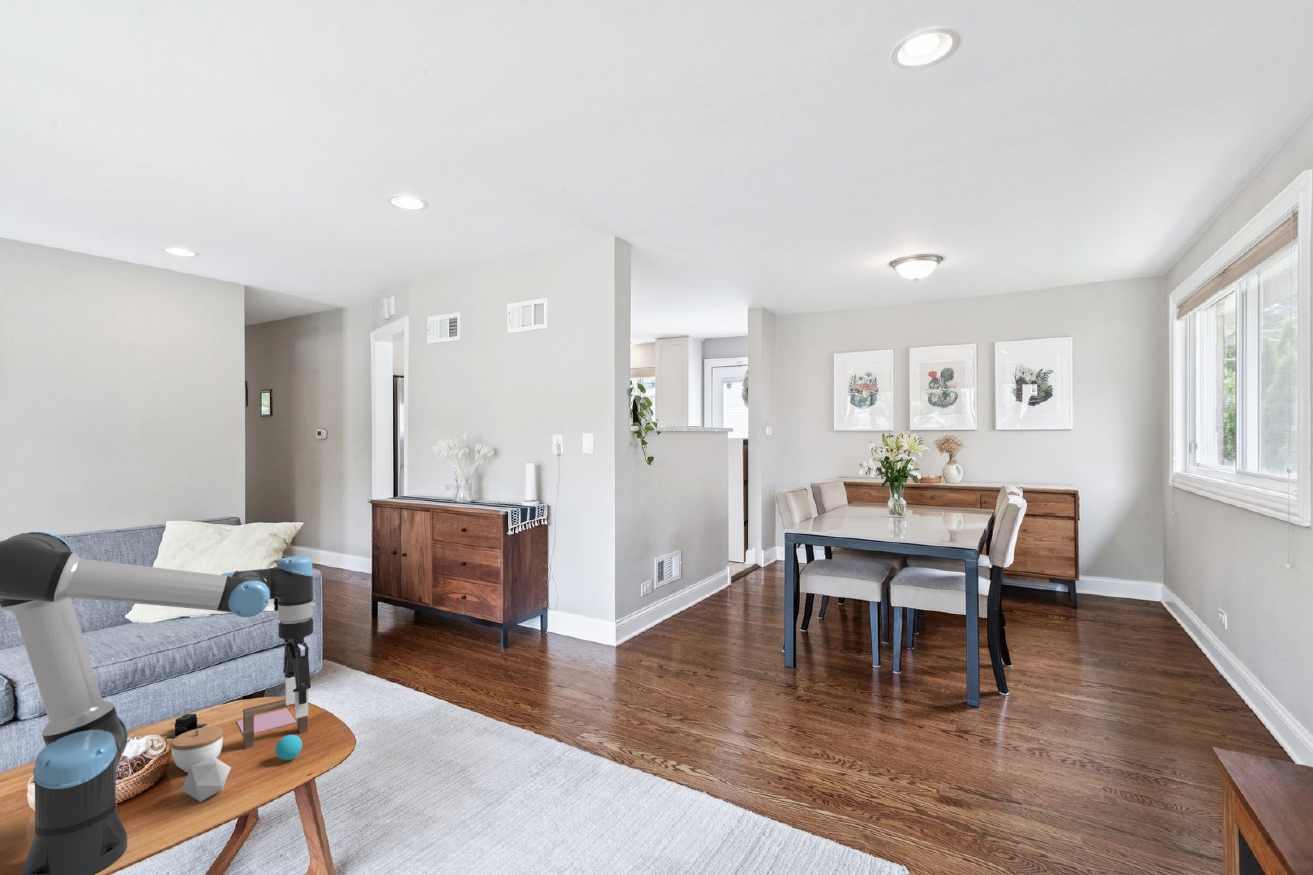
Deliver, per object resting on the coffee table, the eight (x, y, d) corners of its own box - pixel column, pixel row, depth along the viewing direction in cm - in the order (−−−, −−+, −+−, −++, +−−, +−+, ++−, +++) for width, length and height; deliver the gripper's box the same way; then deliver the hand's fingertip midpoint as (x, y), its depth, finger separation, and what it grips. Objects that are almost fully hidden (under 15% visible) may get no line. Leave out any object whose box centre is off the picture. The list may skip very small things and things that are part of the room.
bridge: (307, 731, 179) (307, 697, 179) (245, 748, 169) (244, 712, 169) (305, 727, 181) (304, 694, 181) (243, 744, 171) (243, 709, 171)
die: (230, 799, 146) (241, 754, 151) (193, 796, 139) (206, 749, 145) (207, 806, 148) (218, 761, 154) (169, 804, 142) (182, 757, 147)
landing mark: (244, 736, 176) (244, 735, 176) (236, 721, 186) (236, 720, 186) (296, 722, 185) (296, 721, 185) (286, 708, 195) (286, 708, 195)
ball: (278, 767, 159) (277, 743, 159) (273, 758, 163) (273, 735, 163) (304, 759, 163) (304, 735, 163) (299, 750, 167) (299, 728, 167)
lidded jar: (172, 782, 152) (172, 743, 153) (170, 765, 161) (170, 728, 161) (225, 767, 159) (225, 730, 159) (221, 751, 168) (221, 716, 168)
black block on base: (192, 723, 187) (191, 706, 187) (216, 723, 187) (216, 706, 187) (154, 744, 174) (153, 726, 174) (180, 744, 173) (180, 726, 173)
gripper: (324, 625, 150) (325, 719, 150) (302, 608, 167) (302, 692, 167) (288, 632, 145) (289, 729, 145) (269, 613, 162) (270, 700, 162)
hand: (296, 709), depth 156 cm, fingers open, 10 cm apart
